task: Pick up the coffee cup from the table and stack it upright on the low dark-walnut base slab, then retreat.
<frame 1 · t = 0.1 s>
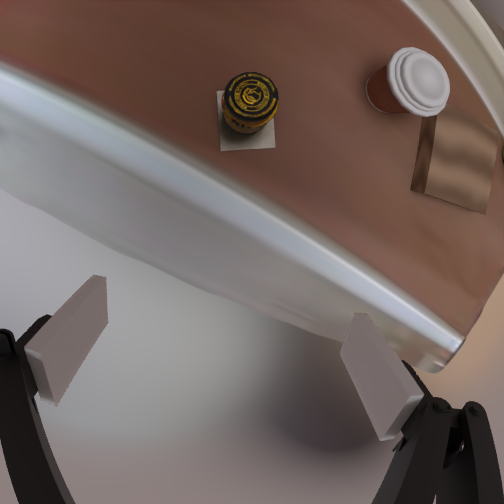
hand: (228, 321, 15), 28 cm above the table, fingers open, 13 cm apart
coffee cup: (383, 93, 37), on the table
base slab: (451, 157, 40), on the table
condiment: (246, 118, 38), on the table
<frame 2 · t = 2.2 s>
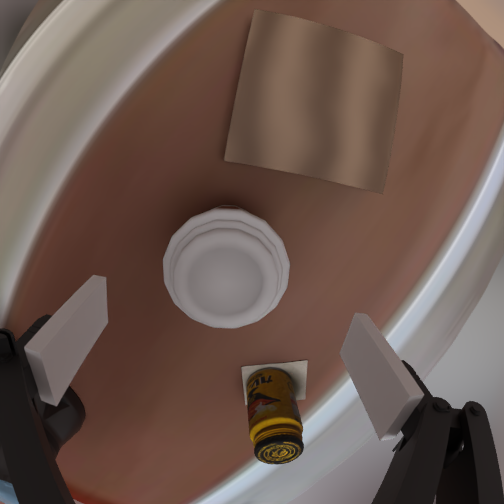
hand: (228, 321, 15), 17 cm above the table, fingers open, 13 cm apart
coffee cup: (227, 235, 31), on the table
base slab: (312, 103, 27), on the table
condiment: (274, 382, 38), on the table
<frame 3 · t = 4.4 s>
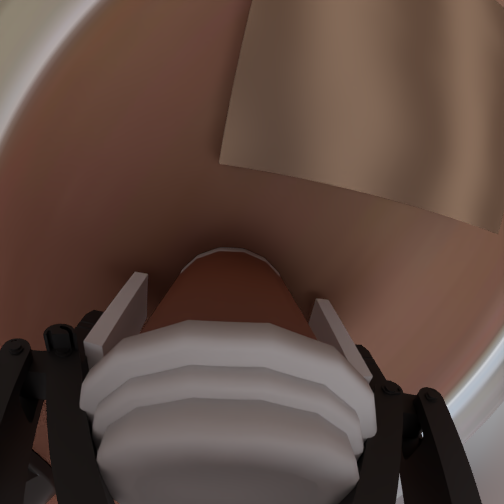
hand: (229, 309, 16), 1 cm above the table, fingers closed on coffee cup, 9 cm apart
coffee cup: (229, 299, 17), on the table, touching gripper
base slab: (383, 64, 13), on the table
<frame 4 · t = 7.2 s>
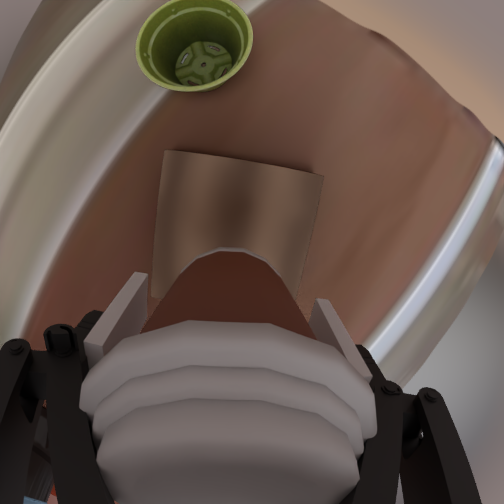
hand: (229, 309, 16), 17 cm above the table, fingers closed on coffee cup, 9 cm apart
plant pot: (203, 67, 27), on the table
coffee cup: (229, 299, 17), point 16 cm above the table, touching gripper
base slab: (232, 229, 32), on the table
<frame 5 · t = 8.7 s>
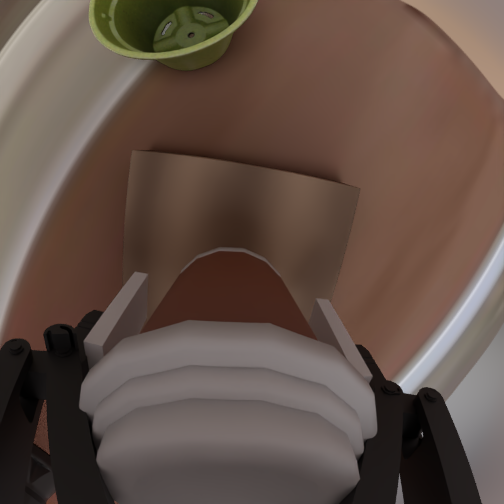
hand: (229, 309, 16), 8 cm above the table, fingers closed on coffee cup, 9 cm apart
plant pot: (191, 39, 19), on the table
coffee cup: (229, 299, 17), point 7 cm above the table, touching gripper
base slab: (230, 257, 24), on the table
when the fingers open (6 cm above the table, at t = 10.1 s): coffee cup drops 1 cm, resting on base slab.
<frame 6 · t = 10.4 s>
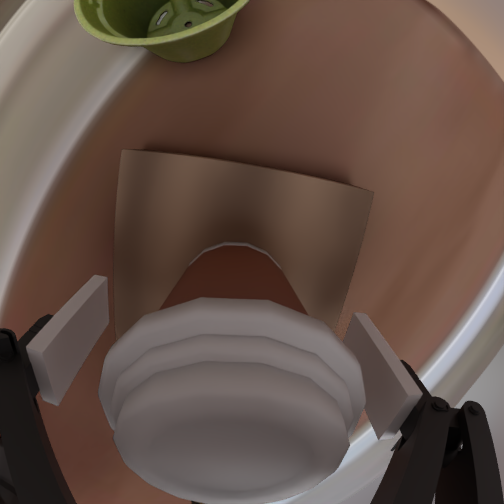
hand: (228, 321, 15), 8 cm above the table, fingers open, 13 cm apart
plant pot: (188, 29, 17), on the table
coffee cup: (234, 290, 19), point 4 cm above the table, touching base slab
base slab: (230, 266, 22), on the table
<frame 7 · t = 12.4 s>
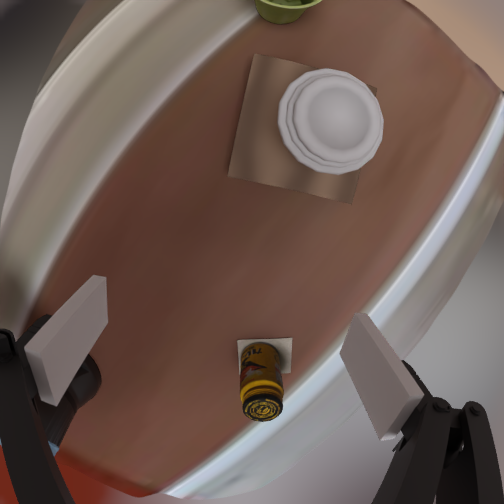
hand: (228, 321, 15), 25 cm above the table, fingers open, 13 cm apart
plant pot: (279, 8, 30), on the table
coffee cup: (308, 128, 32), point 4 cm above the table, touching base slab
base slab: (300, 129, 35), on the table
condiment: (264, 355, 47), on the table
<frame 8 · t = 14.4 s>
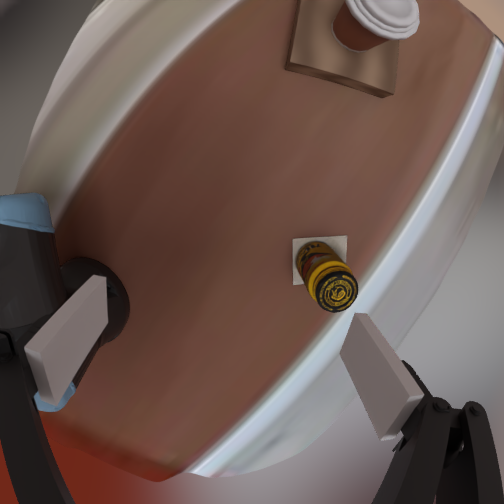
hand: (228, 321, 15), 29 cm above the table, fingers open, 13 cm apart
coffee cup: (352, 33, 31), point 4 cm above the table, touching base slab
base slab: (342, 40, 34), on the table
condiment: (319, 259, 45), on the table
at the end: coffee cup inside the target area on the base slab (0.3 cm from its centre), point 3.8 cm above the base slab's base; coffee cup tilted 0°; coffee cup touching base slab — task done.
